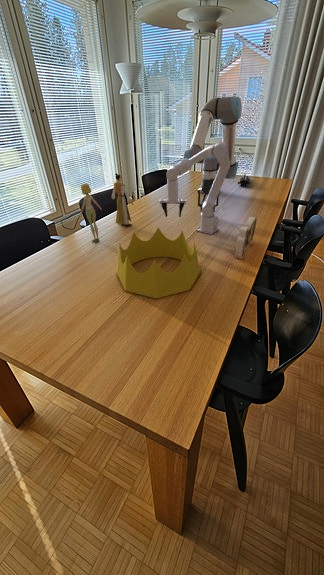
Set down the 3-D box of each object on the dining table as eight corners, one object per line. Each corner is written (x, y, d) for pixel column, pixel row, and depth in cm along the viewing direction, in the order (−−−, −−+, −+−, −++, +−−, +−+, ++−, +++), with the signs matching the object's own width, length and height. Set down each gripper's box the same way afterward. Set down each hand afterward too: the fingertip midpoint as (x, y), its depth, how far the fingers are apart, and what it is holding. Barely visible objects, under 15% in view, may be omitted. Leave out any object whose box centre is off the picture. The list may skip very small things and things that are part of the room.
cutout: (244, 233, 111) (258, 210, 128) (237, 232, 113) (252, 210, 129) (240, 263, 121) (254, 238, 137) (234, 262, 122) (248, 237, 138)
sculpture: (103, 236, 150) (93, 180, 132) (108, 238, 147) (98, 181, 130) (83, 243, 142) (70, 186, 125) (88, 246, 140) (75, 187, 122)
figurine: (140, 227, 158) (135, 173, 141) (129, 231, 153) (122, 176, 136) (119, 219, 169) (112, 169, 152) (109, 224, 164) (100, 172, 147)
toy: (240, 179, 245) (237, 186, 221) (241, 173, 242) (238, 180, 219) (251, 179, 242) (249, 186, 218) (251, 174, 240) (249, 180, 216)
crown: (123, 254, 130) (119, 225, 122) (197, 252, 128) (198, 223, 120) (109, 299, 101) (102, 265, 92) (204, 297, 99) (206, 262, 90)
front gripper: (186, 189, 143) (186, 214, 151) (160, 189, 146) (161, 213, 153) (185, 193, 138) (185, 218, 145) (158, 193, 140) (159, 218, 148)
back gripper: (193, 179, 151) (192, 219, 165) (225, 179, 149) (222, 219, 162) (194, 176, 157) (193, 214, 171) (225, 176, 155) (221, 215, 168)
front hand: (173, 216), depth 149 cm, fingers open, 7 cm apart
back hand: (207, 217), depth 166 cm, fingers closed on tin, 5 cm apart
